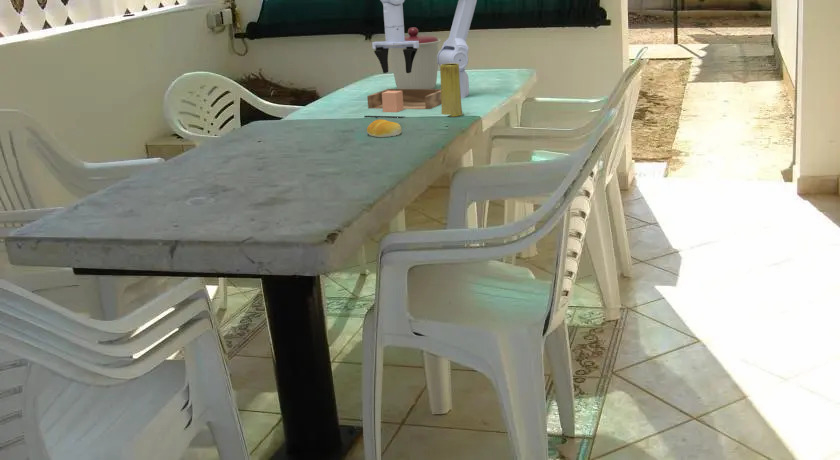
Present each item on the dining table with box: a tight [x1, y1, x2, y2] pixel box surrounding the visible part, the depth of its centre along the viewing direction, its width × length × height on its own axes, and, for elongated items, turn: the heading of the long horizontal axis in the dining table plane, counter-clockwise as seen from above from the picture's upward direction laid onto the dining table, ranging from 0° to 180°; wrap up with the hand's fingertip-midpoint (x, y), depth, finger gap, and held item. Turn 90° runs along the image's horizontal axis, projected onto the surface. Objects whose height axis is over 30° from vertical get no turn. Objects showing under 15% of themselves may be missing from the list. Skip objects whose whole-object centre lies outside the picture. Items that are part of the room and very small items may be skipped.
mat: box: [364, 115, 405, 119], centre depth 257 cm, size 10×12×1 cm
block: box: [382, 91, 405, 113], centre depth 257 cm, size 4×4×6 cm
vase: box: [439, 63, 464, 118], centre depth 247 cm, size 6×6×14 cm
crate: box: [366, 88, 442, 110], centre depth 267 cm, size 14×20×4 cm
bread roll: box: [366, 118, 403, 138], centre depth 227 cm, size 8×9×4 cm
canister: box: [389, 27, 442, 89], centre depth 298 cm, size 18×18×21 cm
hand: (397, 72), depth 266 cm, fingers open, 7 cm apart
